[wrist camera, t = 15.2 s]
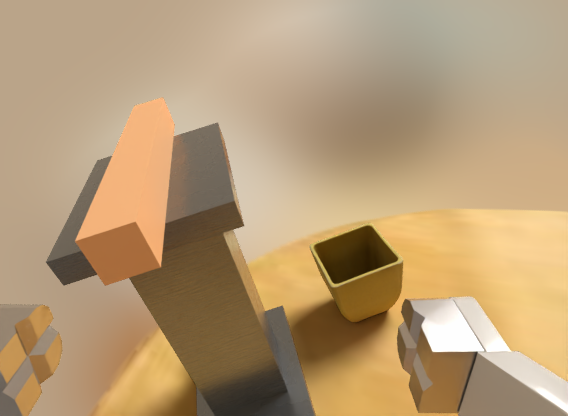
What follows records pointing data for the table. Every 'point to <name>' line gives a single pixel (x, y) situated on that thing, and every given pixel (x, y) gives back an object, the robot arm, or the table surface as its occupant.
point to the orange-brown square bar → (132, 198)
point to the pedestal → (205, 288)
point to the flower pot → (360, 271)
